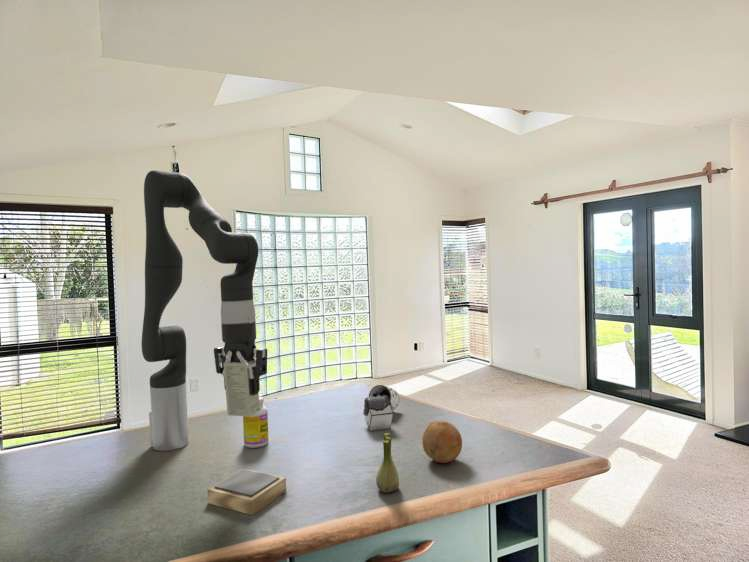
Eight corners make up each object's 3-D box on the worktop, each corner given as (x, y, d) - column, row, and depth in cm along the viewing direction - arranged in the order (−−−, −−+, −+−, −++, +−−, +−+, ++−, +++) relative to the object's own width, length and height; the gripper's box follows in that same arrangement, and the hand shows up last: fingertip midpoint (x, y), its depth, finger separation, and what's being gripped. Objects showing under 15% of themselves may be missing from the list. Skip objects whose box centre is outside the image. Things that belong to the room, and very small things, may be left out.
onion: (467, 456, 123) (466, 417, 123) (456, 472, 114) (455, 429, 114) (430, 451, 127) (429, 413, 127) (417, 466, 118) (416, 425, 118)
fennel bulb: (390, 498, 103) (389, 441, 102) (370, 492, 105) (369, 437, 105) (403, 486, 108) (402, 432, 107) (384, 482, 110) (383, 429, 110)
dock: (207, 503, 103) (207, 487, 103) (244, 481, 113) (243, 466, 112) (252, 515, 97) (251, 498, 97) (286, 491, 107) (285, 475, 107)
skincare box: (260, 411, 113) (257, 359, 113) (249, 417, 109) (246, 362, 108) (237, 410, 115) (234, 358, 115) (225, 415, 111) (222, 362, 110)
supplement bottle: (262, 449, 132) (260, 402, 131) (239, 448, 133) (237, 401, 133) (272, 440, 138) (270, 395, 138) (250, 439, 140) (248, 394, 139)
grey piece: (371, 408, 166) (370, 379, 166) (400, 409, 165) (399, 379, 164) (358, 434, 141) (357, 400, 141) (393, 435, 140) (392, 401, 139)
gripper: (202, 322, 111) (206, 395, 112) (252, 322, 105) (256, 400, 105) (226, 318, 118) (229, 387, 118) (274, 318, 111) (277, 391, 112)
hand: (242, 393), depth 112 cm, fingers closed on skincare box, 6 cm apart
